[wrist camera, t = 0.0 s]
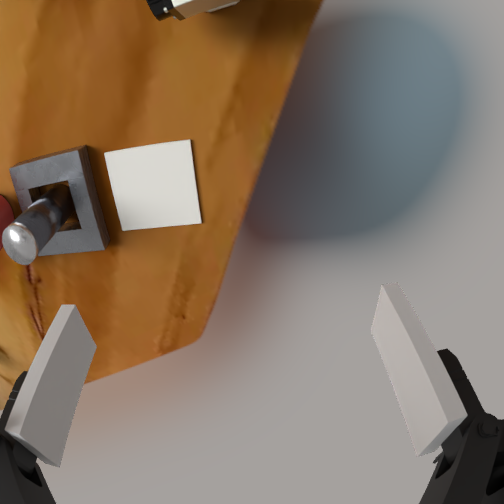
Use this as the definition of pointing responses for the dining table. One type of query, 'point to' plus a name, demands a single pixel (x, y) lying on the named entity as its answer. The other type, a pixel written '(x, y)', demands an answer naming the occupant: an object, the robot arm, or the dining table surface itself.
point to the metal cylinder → (38, 224)
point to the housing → (83, 193)
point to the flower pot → (5, 217)
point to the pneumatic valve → (186, 7)
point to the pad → (154, 185)
